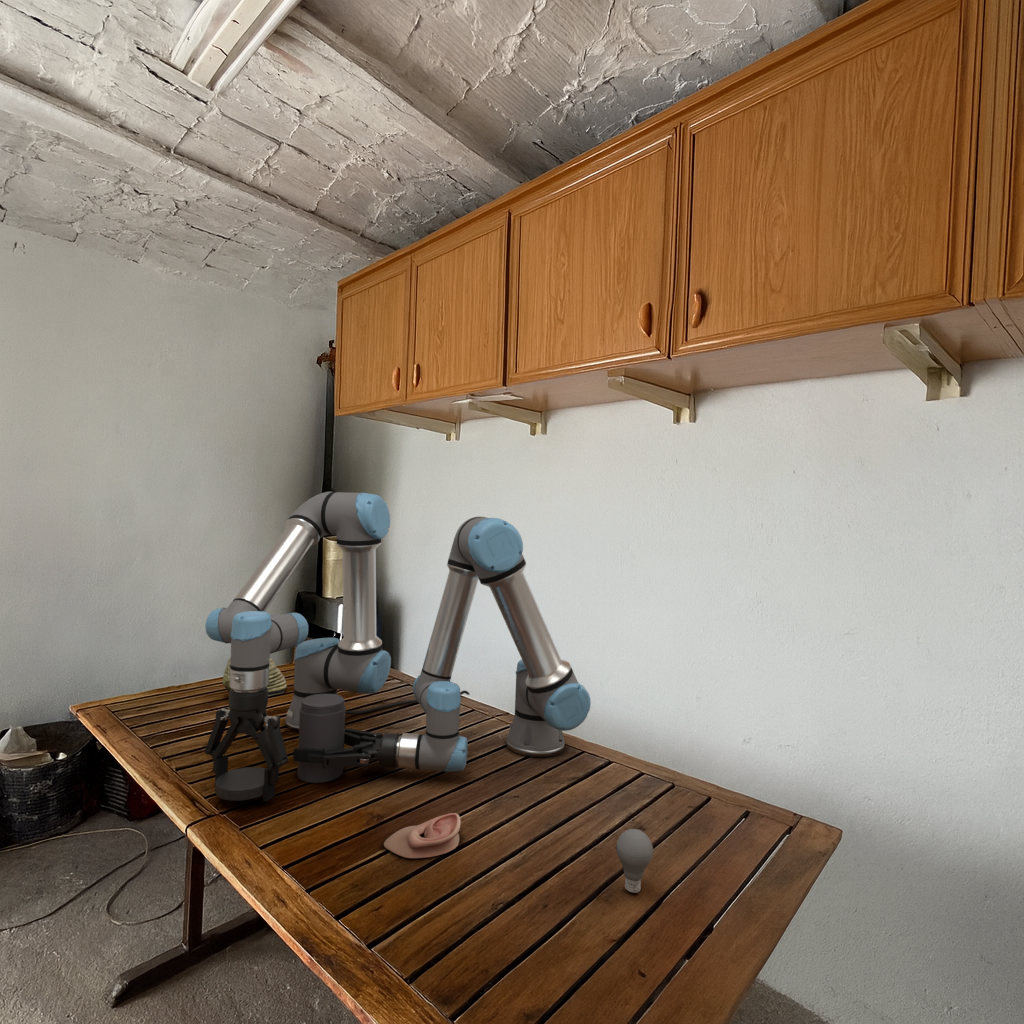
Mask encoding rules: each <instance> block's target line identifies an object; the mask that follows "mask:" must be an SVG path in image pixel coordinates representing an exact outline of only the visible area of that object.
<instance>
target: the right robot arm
mask: <svg viewBox="0 0 1024 1024" xmlns="http://www.w3.org/2000/svg"><path fill="white" fill-rule="evenodd" d="M523 551H524V543H523V539H522V535H521V534H520V532H519V530H518V529H517V528H516V527H515V526H514V525H513V524H511V523H510V522H508V521H506V520H505V519H502V518H500V517H499V518H497V517H486V516H473V517H471V518H468V519H466V520H465V521H464V522H463V523H462V524H461V525H460V526H459V527H458V528H457V531H456V533H455V536H454V537H453V541H452V544H451V549H450V553H449V556H448V559H447V562H446V566H447V568H448V570H449V571H448V574H447V577H446V582H445V586H444V589H443V592H442V595H441V600H440V603H439V607H438V609H437V610H438V611H437V614H436V618H435V621H434V626H433V628H432V631H431V632H432V633H431V636H430V639H429V642H428V647H427V650H426V654H425V658H424V660H423V665H422V668H421V671H420V674H419V675H418V676H417V677H416V678H415V679H414V681H413V684H412V692H413V696H414V700H417V702H416V703H418V704H419V706H420V707H421V708H422V710H423V712H424V713H425V719H426V720H425V721H426V722H425V734H423V733H421V734H420V733H407V732H406V733H405V732H403V733H402V734H400V733H399V732H385V733H384V734H383V733H382V732H373V731H366V730H360V729H354V728H349V727H345V732H344V745H345V746H349V747H348V748H344V749H340V750H333V751H327V752H326V750H325V748H324V749H304V748H298V747H294V748H293V759H292V762H295V763H296V762H297V763H298V762H311V763H322V768H323V769H326V768H342V767H343V768H357V767H359V768H360V767H361V768H369V766H370V762H373V761H378V763H379V767H380V768H382V769H396V768H399V769H404V770H405V769H407V770H409V771H411V772H412V771H413V770H425V771H436V772H444V773H447V772H449V773H450V772H462V771H463V770H465V768H466V766H467V760H468V750H469V749H468V747H469V746H468V744H469V742H468V738H467V737H466V736H462V735H460V716H461V703H462V698H461V695H460V692H461V687H460V685H459V684H458V683H456V682H453V681H451V680H452V675H453V672H454V669H455V664H456V661H457V659H458V654H459V650H460V646H461V643H462V639H463V636H464V633H465V629H466V626H467V622H468V618H469V615H470V611H471V607H472V604H473V601H474V597H475V593H476V590H477V586H478V583H480V585H482V586H484V587H488V588H489V590H490V591H491V593H492V595H493V598H494V600H495V602H496V605H497V607H498V610H499V611H500V614H501V617H502V619H503V620H504V623H505V625H506V627H507V629H508V632H509V634H510V636H511V638H512V641H513V643H514V645H515V647H516V649H517V651H518V654H519V656H520V658H521V659H519V660H518V662H517V664H516V671H515V693H514V694H515V695H514V696H515V698H514V716H513V719H512V721H511V722H509V729H508V731H507V732H508V733H507V735H506V745H505V746H506V747H507V749H508V750H510V751H512V752H513V753H515V754H518V755H521V756H525V757H530V758H547V757H548V758H549V757H553V756H558V755H559V754H561V753H562V752H563V751H564V750H565V746H566V745H565V736H564V733H563V732H566V731H571V730H575V729H576V728H577V727H579V726H580V725H582V724H583V722H585V720H586V719H587V717H588V714H589V712H590V710H591V704H592V702H591V701H592V700H591V696H590V693H589V692H588V690H587V689H586V687H585V686H584V685H582V684H581V683H579V681H578V679H577V677H576V674H575V672H574V670H573V668H572V665H571V663H570V662H569V661H567V660H566V659H565V660H564V659H562V658H561V655H560V653H559V651H558V649H557V646H556V645H555V643H554V639H553V638H552V635H551V633H550V631H549V629H548V626H547V623H546V621H545V619H544V617H543V615H542V613H541V610H540V607H539V605H538V604H537V601H536V599H535V596H534V594H533V591H532V589H531V587H530V585H529V582H528V580H527V578H526V575H525V573H524V572H525V568H526V566H527V562H526V560H525V557H524V555H523Z"/></svg>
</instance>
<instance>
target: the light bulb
mask: <svg viewBox="0 0 1024 1024" xmlns="http://www.w3.org/2000/svg"><path fill="white" fill-rule="evenodd" d="M615 849H616V854H617V857H618V859H619V861H620V863H621V865H622V867H623V873H624V874H623V875H624V876H625V878H624V888H625V890H627V891H628V892H630V893H634V894H635V893H639V892H640V891H641V889H642V887H641V886H642V879H643V877H644V875H645V871H646V868H647V867H648V866H649V864H650V863H651V861H652V859H653V855H654V847H653V843H652V841H651V838H649V836H648V835H647V834H646V833H645V832H643V831H642V830H641V829H636V828H629V829H627V830H625V831H623V832H622V833H621V834H620V835H619V837H618V839H617V841H616V847H615Z"/></svg>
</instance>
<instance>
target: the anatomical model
mask: <svg viewBox="0 0 1024 1024" xmlns="http://www.w3.org/2000/svg"><path fill="white" fill-rule="evenodd" d="M461 820H462V819H461V816H460V815H459V813H456V812H450V813H446V814H443V815H439V816H437V817H434V818H431V819H428V820H427V821H425V822H423V823H420V824H418V825H409V826H406V827H403V828H400V829H399V830H397V831H395V832H394V833H393V834H391V835H390V836H388V838H386V839H385V841H384V842H383V847H384V848H385V849H386V850H388V851H389V852H391V853H393V854H395V855H396V856H400V857H402V858H405V859H425V858H432V857H436V856H440V855H441V856H442V855H444V854H447V853H449V852H451V851H453V850H456V848H457V847H458V845H459V843H460V834H459V832H460V829H461V826H462V825H461V824H462V822H461Z"/></svg>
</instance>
